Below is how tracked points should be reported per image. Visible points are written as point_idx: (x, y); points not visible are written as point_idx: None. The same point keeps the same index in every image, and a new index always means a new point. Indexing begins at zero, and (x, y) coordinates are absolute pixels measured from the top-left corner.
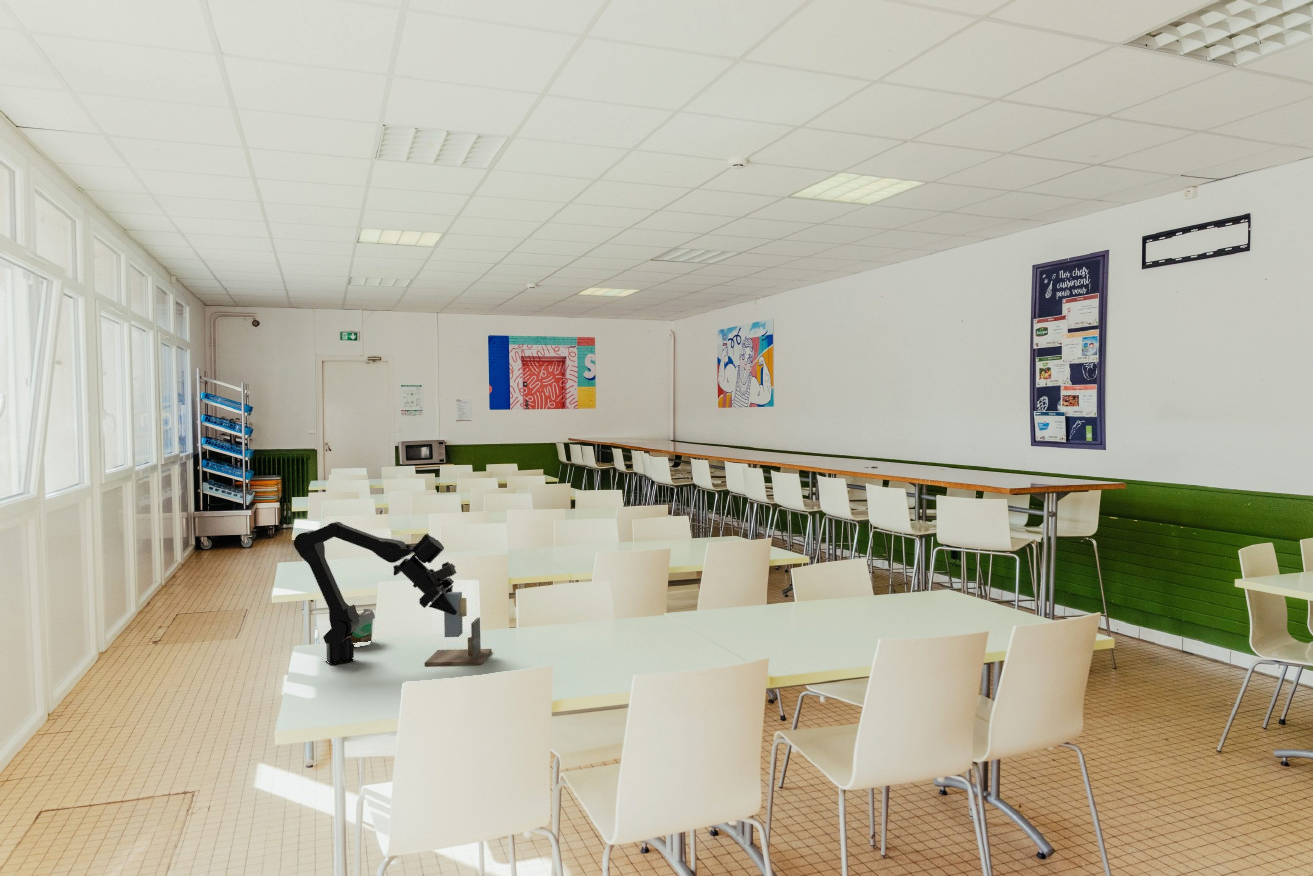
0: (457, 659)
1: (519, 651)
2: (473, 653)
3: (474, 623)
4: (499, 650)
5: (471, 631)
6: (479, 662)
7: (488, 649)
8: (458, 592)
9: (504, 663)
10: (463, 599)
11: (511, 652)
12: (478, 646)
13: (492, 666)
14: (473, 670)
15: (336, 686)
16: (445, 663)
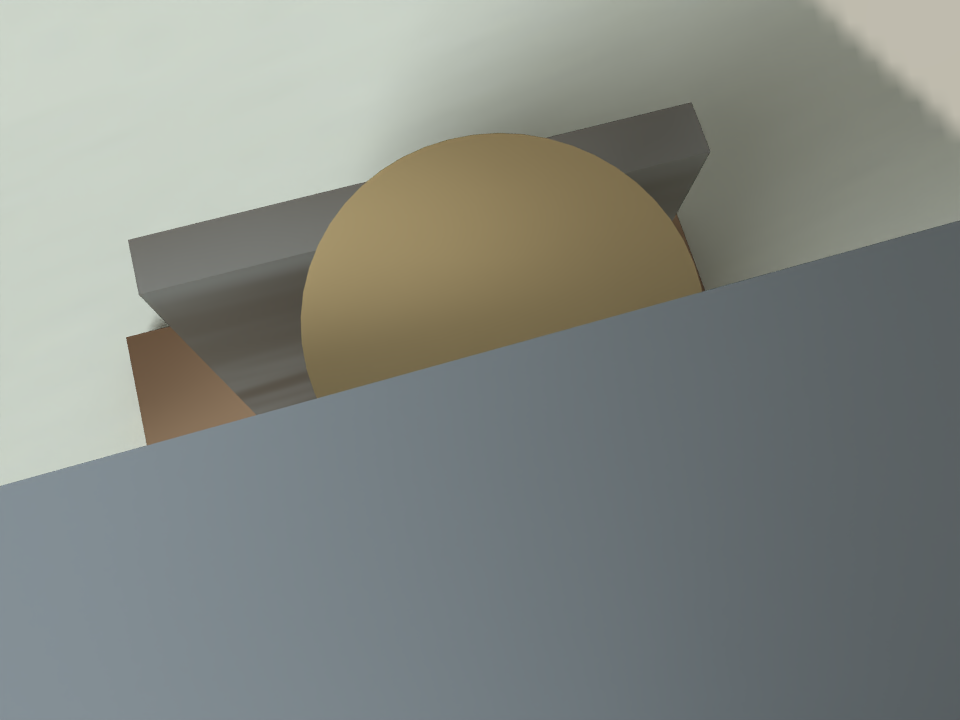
0: None
1: (73, 75)
2: None
3: (655, 114)
4: (45, 299)
5: (670, 218)
6: (676, 224)
7: (165, 356)
8: (244, 624)
9: (553, 32)
10: (626, 190)
11: (123, 136)
12: None
13: (681, 93)
14: (864, 204)
15: None
16: None
